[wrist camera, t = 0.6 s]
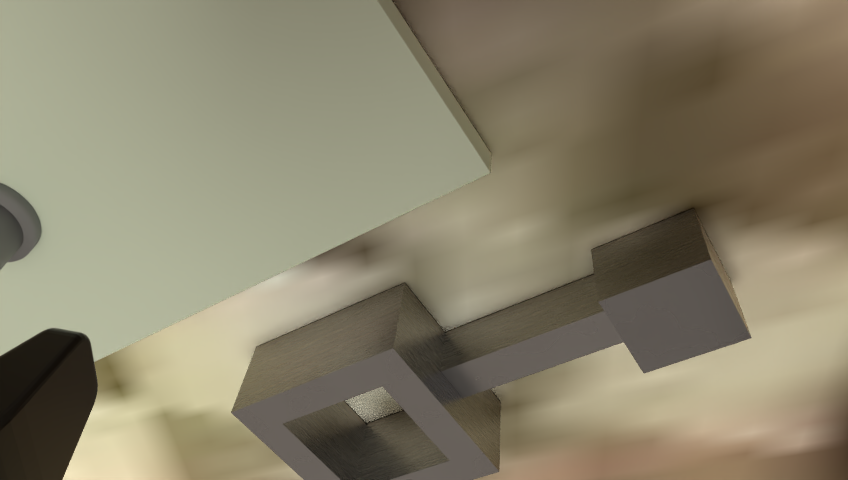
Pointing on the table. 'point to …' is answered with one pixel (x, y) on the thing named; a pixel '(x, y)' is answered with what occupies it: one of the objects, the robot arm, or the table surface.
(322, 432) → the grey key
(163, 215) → the pale green rectangular panel
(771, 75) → the table surface
